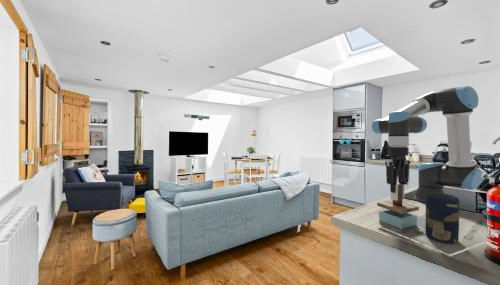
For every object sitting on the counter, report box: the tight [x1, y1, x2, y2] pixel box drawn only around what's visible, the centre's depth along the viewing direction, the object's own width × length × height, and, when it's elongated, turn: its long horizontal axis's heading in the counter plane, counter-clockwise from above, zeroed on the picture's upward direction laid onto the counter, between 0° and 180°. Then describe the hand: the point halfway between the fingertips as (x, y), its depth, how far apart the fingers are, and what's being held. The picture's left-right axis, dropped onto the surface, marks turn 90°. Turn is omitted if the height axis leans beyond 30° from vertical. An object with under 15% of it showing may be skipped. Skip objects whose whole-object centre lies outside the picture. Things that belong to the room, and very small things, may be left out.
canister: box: [424, 192, 460, 244], centre depth 82 cm, size 10×10×18 cm
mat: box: [417, 215, 426, 229], centre depth 98 cm, size 12×12×1 cm
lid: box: [376, 183, 420, 214], centre depth 96 cm, size 11×11×10 cm
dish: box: [378, 209, 418, 230], centre depth 97 cm, size 10×10×5 cm
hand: (397, 199), depth 97 cm, fingers closed on lid, 4 cm apart
